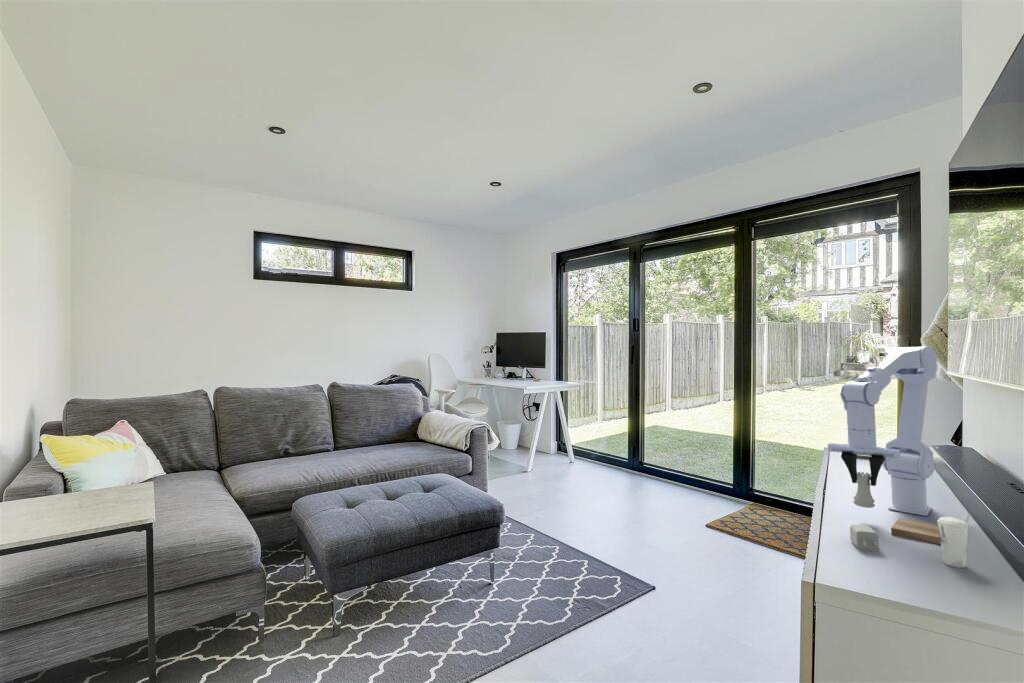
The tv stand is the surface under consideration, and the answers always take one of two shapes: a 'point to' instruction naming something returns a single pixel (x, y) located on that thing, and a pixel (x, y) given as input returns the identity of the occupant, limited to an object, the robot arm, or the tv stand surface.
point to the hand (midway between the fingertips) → (864, 483)
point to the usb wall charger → (864, 537)
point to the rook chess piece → (863, 491)
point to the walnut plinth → (916, 530)
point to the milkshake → (953, 540)
